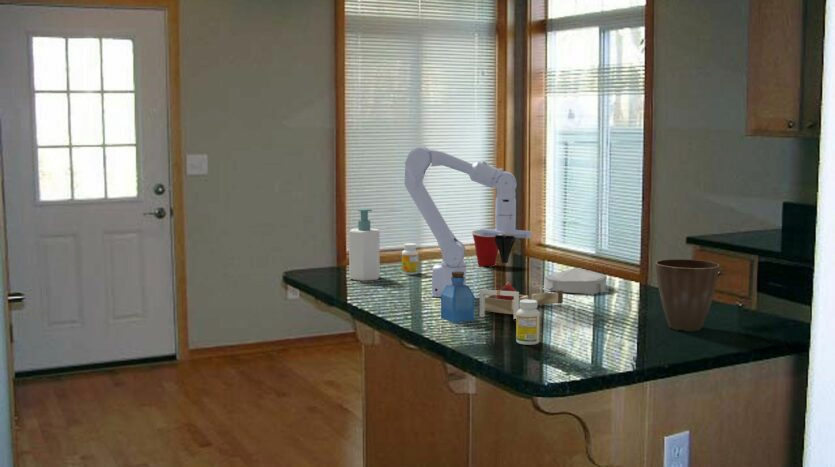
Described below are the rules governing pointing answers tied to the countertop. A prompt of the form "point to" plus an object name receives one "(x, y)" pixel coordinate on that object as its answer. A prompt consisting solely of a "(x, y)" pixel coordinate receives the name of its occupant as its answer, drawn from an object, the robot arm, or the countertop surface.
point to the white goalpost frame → (498, 292)
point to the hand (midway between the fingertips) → (504, 262)
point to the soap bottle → (364, 250)
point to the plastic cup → (485, 249)
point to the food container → (576, 281)
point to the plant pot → (686, 291)
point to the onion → (507, 288)
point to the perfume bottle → (457, 300)
